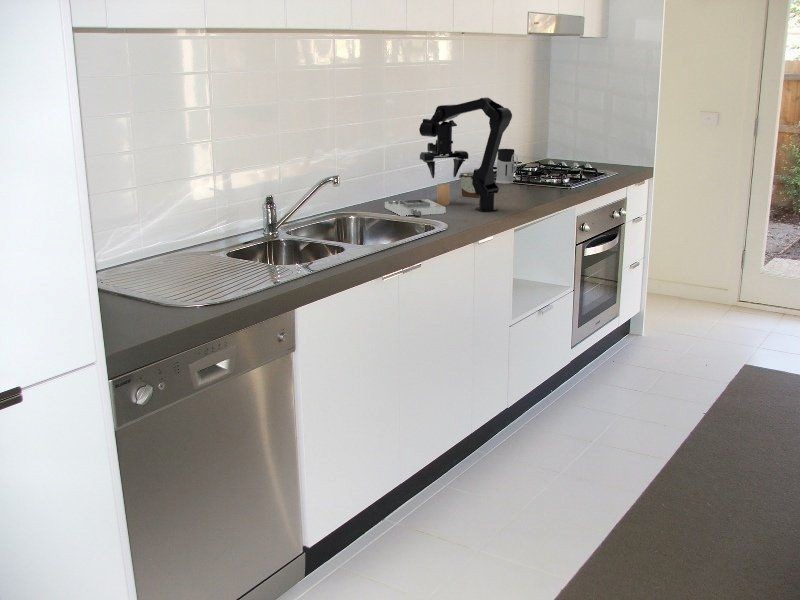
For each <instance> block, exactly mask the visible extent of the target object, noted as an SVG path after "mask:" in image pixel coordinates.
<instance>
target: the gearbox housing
mask: <svg viewBox="0 0 800 600" xmlns="http://www.w3.org/2000/svg"><path fill="white" fill-rule="evenodd" d="M384 208H385V209H386V210H388V211H390V212H391V211H392V213H393V212H394V214H395V213H396V214H395V215H397V214H398V215H397V216H399V215H400V216H399V217H409V216H408V215H415V216H417V217H420V216H428V215H430V214H431V215H445V214H446V209H447V208H446V206H445V205H440V204H437V202H435V201H433V200H431V199H428V198H427V199H422V198H420V199H419V198H417V199H416V198H415V199H400V200H397V199H396V200H395V199H390V200H388V201H384ZM444 213H445V214H444ZM406 215H407V216H406ZM431 215H430V216H431Z"/></svg>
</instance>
